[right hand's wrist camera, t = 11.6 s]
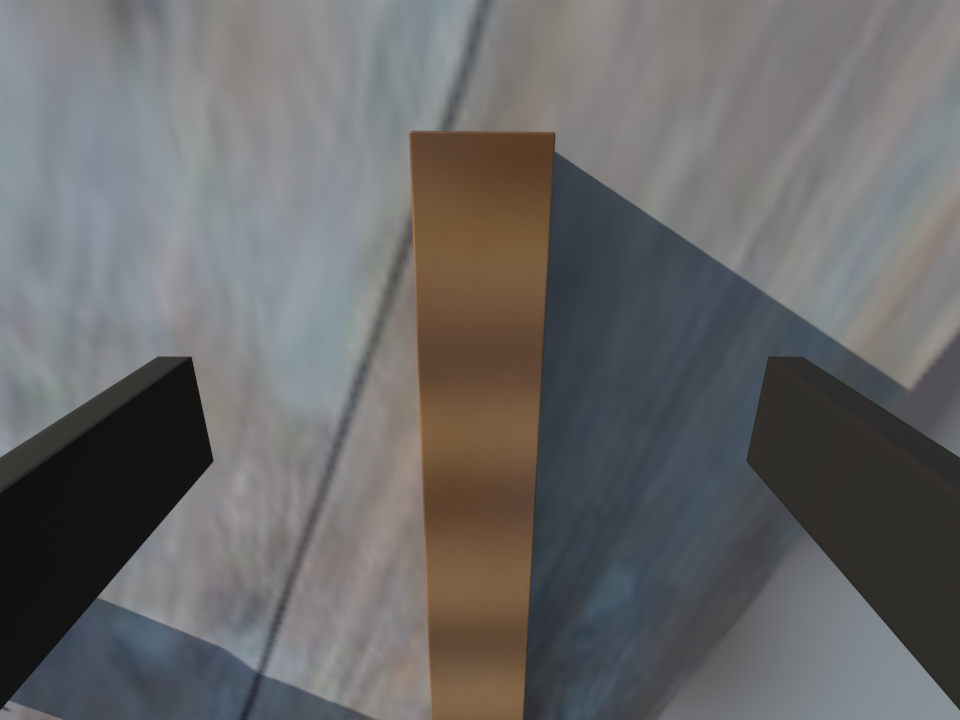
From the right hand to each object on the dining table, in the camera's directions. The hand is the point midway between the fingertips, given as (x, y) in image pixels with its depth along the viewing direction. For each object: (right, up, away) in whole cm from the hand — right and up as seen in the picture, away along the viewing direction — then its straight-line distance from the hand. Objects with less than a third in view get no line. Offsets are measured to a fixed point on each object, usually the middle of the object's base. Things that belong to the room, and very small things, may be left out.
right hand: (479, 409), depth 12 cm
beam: (0, -12, +25) cm, 28 cm away
